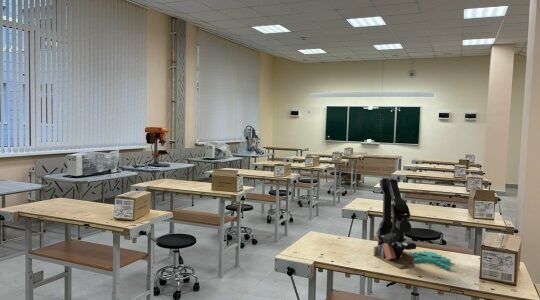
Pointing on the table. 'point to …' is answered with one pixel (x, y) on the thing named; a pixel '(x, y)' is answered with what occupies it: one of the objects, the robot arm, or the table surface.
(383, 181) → the robot arm
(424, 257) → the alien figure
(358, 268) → the table surface
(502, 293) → the table surface
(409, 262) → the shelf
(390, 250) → the salmon pink block
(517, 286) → the table surface
